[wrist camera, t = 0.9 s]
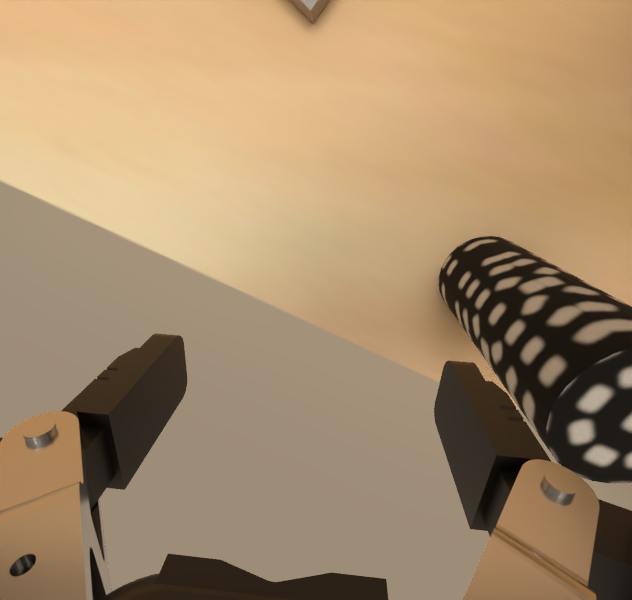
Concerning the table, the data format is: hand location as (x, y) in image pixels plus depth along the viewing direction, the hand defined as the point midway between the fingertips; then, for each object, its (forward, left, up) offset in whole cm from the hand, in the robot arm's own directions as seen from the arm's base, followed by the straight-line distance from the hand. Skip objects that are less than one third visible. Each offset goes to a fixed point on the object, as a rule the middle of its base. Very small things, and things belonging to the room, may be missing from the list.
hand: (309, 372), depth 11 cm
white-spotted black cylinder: (-6, +15, -25) cm, 30 cm away
